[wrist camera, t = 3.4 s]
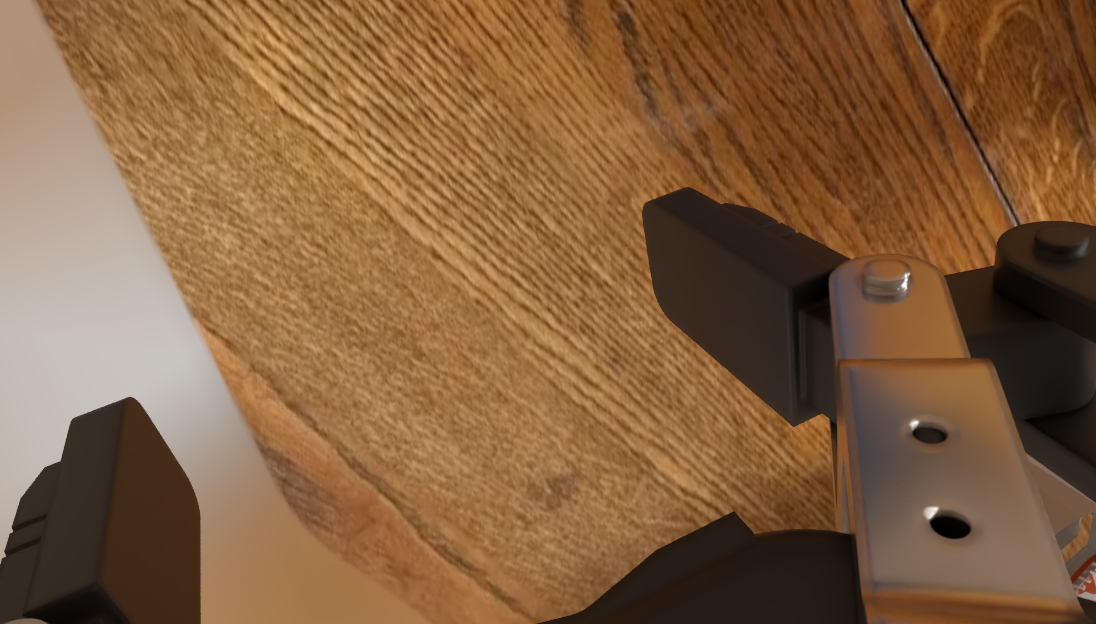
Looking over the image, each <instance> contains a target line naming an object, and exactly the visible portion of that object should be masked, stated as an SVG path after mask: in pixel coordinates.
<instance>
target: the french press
mask: <svg viewBox="0 0 1096 624" xmlns="http://www.w3.org/2000/svg"><path fill="white" fill-rule="evenodd" d="M1026 456H1027V459H1028V461H1029V464H1030V467H1031V470H1032V473H1033V475H1034V478H1035V481H1036V484H1037V487H1038V489H1039V492H1040V495H1041V498H1042V501H1043V503H1044V506H1045V509H1046V512H1047V515H1048V518H1049V520H1050V523H1051V526H1052V529H1053V532H1054V534H1056V533H1057V532H1058V533H1057V534H1056V535H1055V537H1056V540H1057V543H1058V546H1059V548H1060V551H1061V550H1062V549H1063V548H1064V547H1065V546H1066V545H1067V544H1069V543H1070V542H1071V541H1072V540H1073V539H1074V538H1075V537H1076V536H1077V532H1078V529H1079V525H1080V521H1081V517H1083V516H1085V515H1088V514H1090V513H1093V520H1092V525H1091V530H1090V535H1089V540H1088V544H1087V545H1086V546H1085V547H1084V548H1083V549H1082V550H1081V551H1079V552H1078V553H1077V554H1076V555H1075V556H1074V557H1072V558H1071V559H1070V560H1069V561H1068V562H1067V563H1065V565H1066V568H1067V571H1068V574H1069V576H1070V579H1071V582H1072V585H1073V588H1074V590H1075V593H1076V596H1078V597H1082V598H1085V599H1089V600H1093V601H1096V503H1095V502H1094V501H1092V500H1091V499H1089V498H1088V497H1087V496H1085V495H1084V494H1083V493H1081V492H1080V491H1078V490H1077V489H1076V488H1074V487H1073V486H1071V485H1070V484H1069V483H1067V482H1066V481H1064V480H1063V479H1062V478H1060V477H1059V476H1057V475H1056V474H1055V473H1053V472H1052V471H1050V470H1049V469H1048V468H1046V467H1045V466H1043V465H1042V464H1041V463H1039V462H1038V461H1036V460H1035V459H1034V458H1032V457H1031V456H1029V455H1028V454H1027V453H1026ZM1060 530H1061V531H1060ZM1059 531H1060V532H1059Z"/></svg>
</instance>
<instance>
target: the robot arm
mask: <svg viewBox="0 0 1096 624" xmlns="http://www.w3.org/2000/svg"><path fill="white" fill-rule="evenodd" d="M642 218H643V225H644V232H645V239H646V245H647V252H648V258H649V265H650V272H651V278H652V285H653V289H654V293H655V296H656V299H657V301H658V303H659V305H660V307H661V309H662V311H663V312H664V314H665V315H666V316H667V318H668V319H669V320H670V321H671V322H672V323H674V324H675V325H676V326H677V327H678V328H679V329H681V330H682V331H683V332H684V333H685V334H686V335H688V336H689V337H690V338H691V339H692V340H693V341H695V342H696V343H697V344H698V345H699V346H700V347H702V348H703V349H704V350H705V351H706V352H707V353H708V354H710V355H711V356H712V357H713V358H714V359H715V360H717V361H718V362H719V363H720V364H721V365H722V366H724V367H725V368H726V369H727V370H728V371H729V372H731V373H732V374H733V375H734V376H735V377H736V378H737V379H739V380H740V381H741V382H742V383H743V384H744V385H746V386H747V387H748V388H749V389H750V390H751V391H753V392H754V393H755V394H756V395H757V396H758V397H760V398H761V399H762V400H763V401H764V402H765V403H766V404H768V405H769V406H770V407H771V408H772V409H773V410H775V411H776V412H777V413H778V414H779V415H780V416H782V417H783V418H784V419H785V420H786V421H787V422H789V423H790V424H791V425H792V426H793V427H795V426H797V425H799V424H801V423H803V422H805V421H807V420H809V419H811V418H813V417H815V416H817V415H820V414H822V413H823V414H824V415H825V416H826V417H828V418H829V427H830V451H831V465H832V480H833V494H834V508H835V523H836V532H835V531H828V530H813V529H792V530H779V531H771V532H764V533H759V534H754V533H753V532H752V531H751V530H750V529H749V528H748V526H747V525H746V524H745V523H744V522H743V521H742V520H741V519H740V518H739V516H738V515H737V514H736V513H735V512H732V513H730V514H728V515H726V516H724V517H722V518H720V519H718V520H716V521H714V522H712V523H710V524H708V525H706V526H704V527H702V528H700V529H698V530H696V531H694V532H692V533H690V534H688V535H686V536H684V537H682V538H680V539H678V540H676V541H674V542H672V543H670V544H668V545H666V546H664V547H662V548H660V549H658V550H656V551H655V552H654V553H652V554H651V555H650V556H649V557H648V558H646V559H645V560H644V561H643V562H642V563H640V564H639V565H638V566H637V567H636V568H634V569H633V570H632V571H631V572H630V573H629V574H627V575H626V576H625V577H624V578H623V579H621V580H620V581H619V582H618V583H617V584H615V585H614V586H613V587H612V588H611V589H609V590H608V591H607V592H606V593H605V594H604V595H602V596H601V597H600V598H599V599H598V600H596V601H595V602H594V603H593V604H592V605H590V606H589V607H588V608H586V609H585V610H583V611H581V612H579V613H576V614H573V615H570V616H566V617H562V618H558V619H554V620H550V621H546V622H542V623H538V624H1096V601H1093V600H1089V599H1085V598H1082V597H1078V596H1076V593H1075V590H1074V588H1073V585H1072V582H1071V579H1070V576H1069V574H1068V571H1067V568H1066V565H1065V562H1064V560H1063V557H1062V554H1061V551H1060V548H1059V546H1058V543H1057V540H1056V537H1055V534H1054V532H1053V529H1052V526H1051V523H1050V520H1049V518H1048V515H1047V512H1046V509H1045V506H1044V503H1043V501H1042V498H1041V495H1040V492H1039V489H1038V487H1037V484H1036V481H1035V478H1034V475H1033V473H1032V470H1031V467H1030V464H1029V461H1028V459H1027V456H1026V453H1027V454H1028V455H1029V456H1031V457H1032V458H1034V459H1035V460H1036V461H1038V462H1039V463H1041V464H1042V465H1043V466H1045V467H1046V468H1048V469H1049V470H1050V471H1052V472H1053V473H1055V474H1056V475H1057V476H1059V477H1060V478H1062V479H1063V480H1064V481H1066V482H1067V483H1069V484H1070V485H1071V486H1073V487H1074V488H1076V489H1077V490H1078V491H1080V492H1081V493H1083V494H1084V495H1085V496H1087V497H1088V498H1089V499H1091V500H1092V501H1094V502H1095V503H1096V227H1095V226H1091V225H1087V224H1082V223H1076V222H1066V221H1041V222H1033V223H1028V224H1023V225H1020V226H1016V227H1014V228H1012V229H1009V230H1008V231H1006V232H1005V233H1003V234H1002V235H1001V236H1000V237H999V239H998V242H997V248H996V256H995V264H994V266H990V267H985V268H980V269H974V270H969V271H964V272H959V273H954V274H949V275H943V273H942V272H941V271H940V270H939V269H938V268H937V267H935V266H934V265H932V264H930V263H929V262H927V261H924V260H921V259H919V258H915V257H911V256H906V255H899V254H874V255H867V256H861V257H858V258H854V259H849V258H847V257H845V256H843V255H842V254H840V253H838V252H836V251H834V250H832V249H830V248H828V247H826V246H825V245H823V244H821V243H819V242H817V241H815V240H813V239H811V238H809V237H808V236H806V235H804V234H802V233H800V232H799V233H796V232H795V230H794V229H792V228H791V227H789V226H787V225H785V224H783V223H780V224H778V222H777V220H775V219H773V218H772V217H770V216H768V215H766V214H764V213H762V212H760V211H758V210H756V209H753V208H748V207H743V206H738V205H733V204H728V203H725V204H722V205H721V204H720V203H718V202H716V201H714V200H712V199H711V198H709V197H707V196H705V195H703V194H702V193H700V192H698V191H696V190H694V189H693V188H690V187H685V188H682V189H680V190H677V191H674V192H672V193H669V194H666V195H664V196H661V197H658V198H656V199H653V200H651V201H648V202H646V203H645V204H644V206H643V211H642ZM12 529H13V533H10V535H9V538H8V541H7V545H6V548H5V551H4V552H5V554H6V557H4V558H2V561H1V564H0V624H201V623H200V622H201V621H200V620H201V616H200V615H201V613H200V511H199V505H198V502H197V498H196V496H195V492H194V490H193V487H192V485H191V483H190V481H189V479H188V477H187V475H186V474H185V472H184V471H183V469H182V467H181V466H180V464H179V463H178V461H177V460H176V458H175V457H174V455H173V453H172V452H171V450H170V449H169V447H168V446H167V444H166V442H165V441H164V439H163V438H162V436H161V435H160V433H159V431H158V430H157V428H156V427H155V425H154V424H153V422H152V420H151V419H150V417H149V416H148V414H147V413H146V412H145V410H144V408H143V407H142V406H141V404H140V403H139V402H138V401H137V400H136V399H134V398H132V397H128V398H125V399H122V400H120V401H117V402H115V403H112V404H109V405H107V406H104V407H101V408H99V409H96V410H93V411H91V412H88V413H86V414H83V415H80V416H78V417H75V418H73V419H72V421H71V423H70V426H69V430H68V434H67V438H66V442H65V446H64V450H63V454H62V458H61V461H60V462H57V463H55V464H52V465H50V466H47V467H45V468H44V469H43V470H42V472H41V473H40V474H39V475H38V477H37V478H36V479H35V481H34V482H33V483H32V485H31V486H30V487H29V489H28V490H27V491H26V492H25V494H24V495H23V496H22V498H21V499H20V502H19V506H18V509H17V512H16V515H15V519H14V522H13V525H12Z"/></svg>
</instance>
